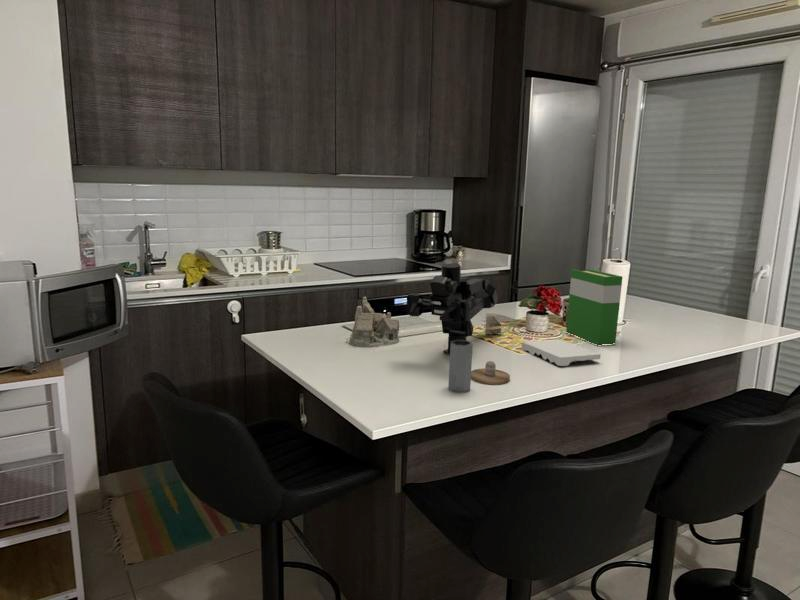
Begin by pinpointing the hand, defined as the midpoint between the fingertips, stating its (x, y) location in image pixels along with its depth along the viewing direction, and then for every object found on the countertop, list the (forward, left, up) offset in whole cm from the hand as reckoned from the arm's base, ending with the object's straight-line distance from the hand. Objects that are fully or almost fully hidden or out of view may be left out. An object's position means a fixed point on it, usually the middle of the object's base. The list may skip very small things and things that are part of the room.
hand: (424, 316), depth 163 cm
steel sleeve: (+5, +14, -17) cm, 22 cm away
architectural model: (-54, -2, -17) cm, 57 cm away
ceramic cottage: (-19, -30, -17) cm, 39 cm away
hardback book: (-71, +28, -17) cm, 78 cm away
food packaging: (-42, +26, -17) cm, 53 cm away
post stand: (-8, +17, -17) cm, 25 cm away
